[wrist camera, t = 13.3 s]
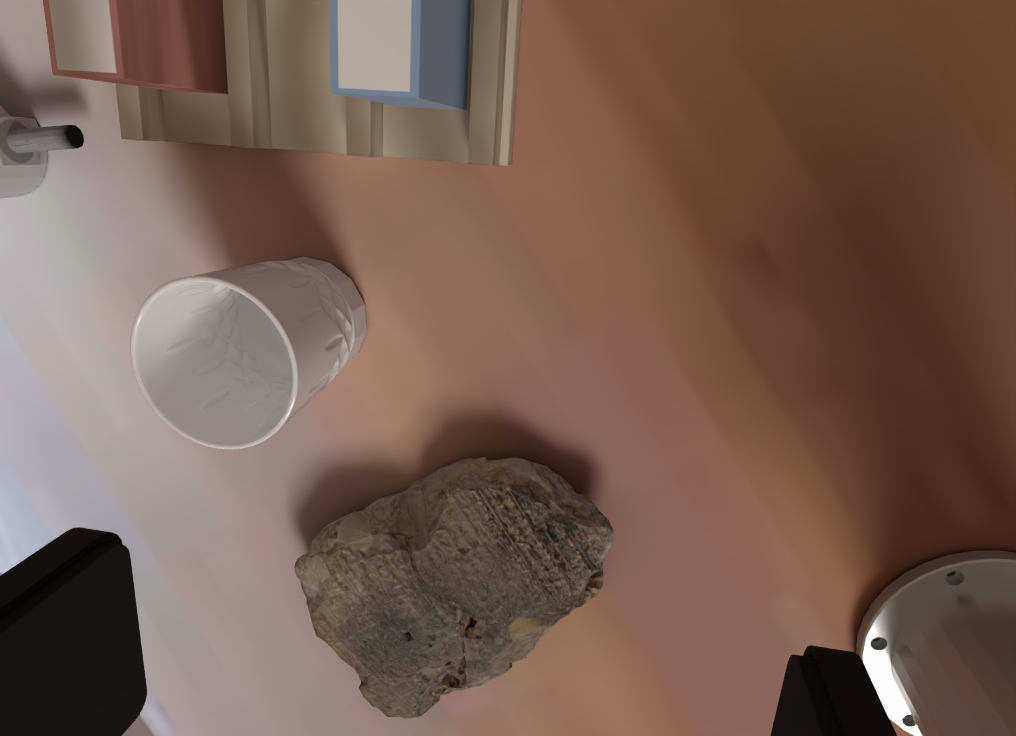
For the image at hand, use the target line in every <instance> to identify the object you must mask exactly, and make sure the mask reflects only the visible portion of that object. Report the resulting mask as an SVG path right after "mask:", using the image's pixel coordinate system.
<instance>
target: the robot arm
mask: <svg viewBox="0 0 1016 736" xmlns="http://www.w3.org/2000/svg"><path fill="white" fill-rule="evenodd" d="M146 696H147V687H146V679H145V671H144V663H143V655H142V647H141V639H140V631H139V623H138V615H137V607H136V599H135V591H134V583H133V575H132V567H131V559H130V553H129V550H128V548H127V547H126V546H124V545H123V544H122V541H121V539H120V537H119V536H118V535H117V534H114V533H111V532H105V531H99V530H93V529H86V528H73V529H70V530H68V531H66V532H65V533H63V534H62V535H60V536H59V537H57V538H56V539H54V540H53V541H51V542H50V543H48V544H47V545H46V546H44V547H43V548H41V549H40V550H38V551H37V552H35V553H34V554H32V555H31V556H29V557H28V558H26V559H25V560H23V561H22V562H20V563H19V564H17V565H16V566H14V567H13V568H11V569H10V570H8V571H7V572H5V573H4V574H2V575H1V576H0V736H122V735H123V733H124V732H125V731H126V730H127V729H128V728H129V727H130V726H131V724H132V723H133V722H134V721H135V720H136V718H137V717H138V716H139V714H140V712H141V711H142V709H143V706H144V704H145V701H146ZM890 720H891V721H892V722H893V723H894V724H896V725H897V726H898V727H899V728H901V729H902V730H904V731H906V732H908V733H910V734H912V735H914V736H1016V553H1014V552H1007V551H999V550H991V551H969V552H963V553H957V554H951V555H947V556H944V557H941V558H938V559H934V560H931V561H928V562H925V563H923V564H921V565H920V566H918V567H916V568H914V569H912V570H910V571H908V572H906V573H904V574H903V575H901V576H900V577H899V578H897V579H896V580H895V581H893V582H892V583H891V584H889V585H888V586H887V587H886V588H885V589H884V590H883V591H882V592H881V593H880V594H879V596H878V597H877V598H876V599H875V600H874V601H873V602H872V604H871V606H870V607H869V609H868V611H867V612H866V614H865V616H864V617H863V620H862V623H861V626H860V629H859V632H858V635H857V646H856V653H855V652H849V651H843V650H837V649H830V648H824V647H818V646H812V645H811V646H808V647H807V648H806V650H805V652H804V655H803V656H799V655H791V656H790V658H789V661H788V664H787V668H786V672H785V677H784V681H783V685H782V689H781V694H780V698H779V702H778V706H777V711H776V715H775V719H774V723H773V728H772V732H771V736H897V735H896V732H895V730H894V728H893V726H892V724H891V722H890Z"/></svg>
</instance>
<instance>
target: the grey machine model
mask: <svg viewBox="0 0 1016 736" xmlns="http://www.w3.org/2000/svg"><path fill="white" fill-rule="evenodd" d="M83 143H84V138H83V134H82V132H81V130H80V129H79V128H78V127H77V126H75V125H64V126H52V127H39V126H38V124H37V122H36V120H35V119H33V118H28V117H12V116H10V115H9V114H8V113H7V112H6V111H5V110H4V109H3V107H2V106H0V198H7V197H15V196H22V195H25V194H27V193H30V192H31V191H32V190H34V189H35V188H36V187H37V186H38V185H39V184H40V182H41V180H42V179H43V177H44V174H45V170H46V166H47V151H49V150H62V149H74V148H79V147H81V146H83Z"/></svg>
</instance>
